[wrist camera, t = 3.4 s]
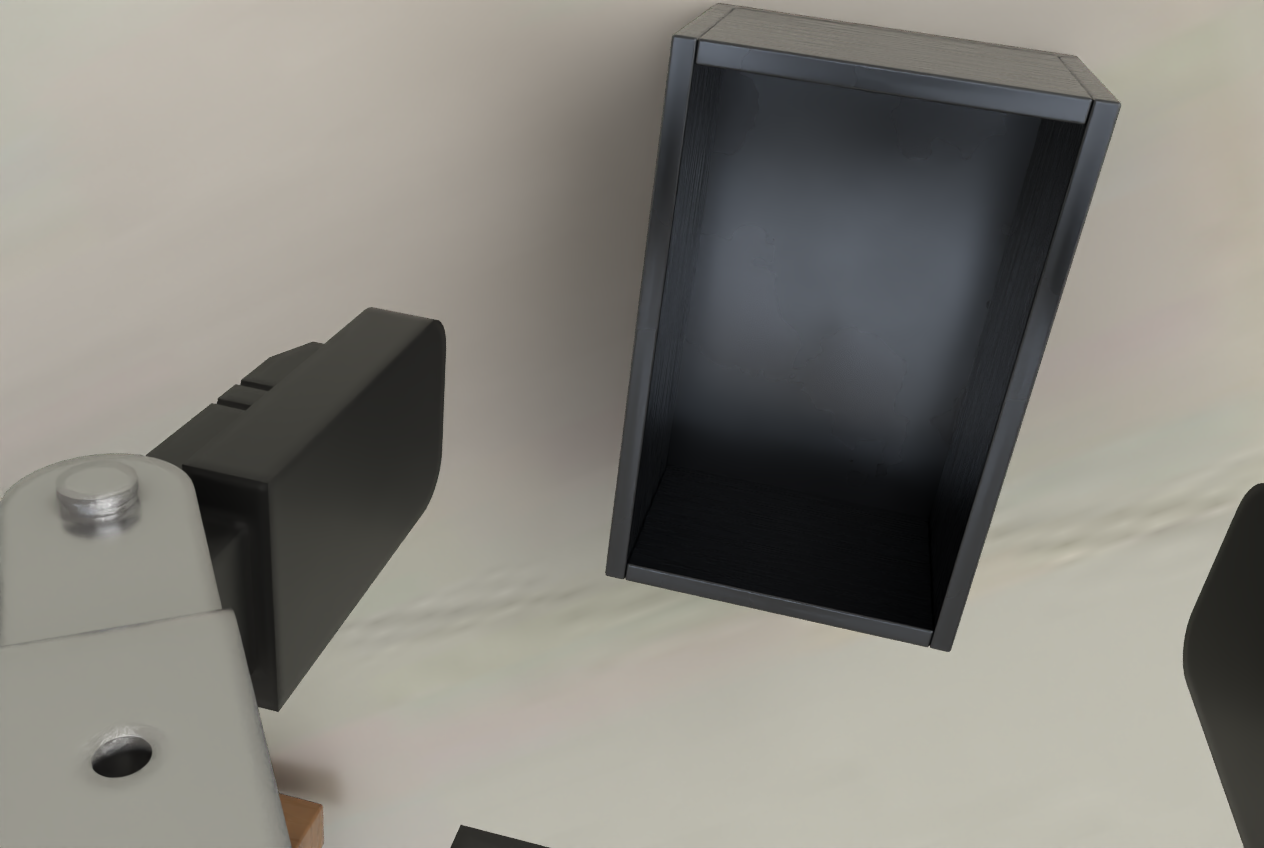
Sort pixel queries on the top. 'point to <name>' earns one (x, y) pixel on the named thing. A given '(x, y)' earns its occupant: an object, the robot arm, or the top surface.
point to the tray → (845, 311)
